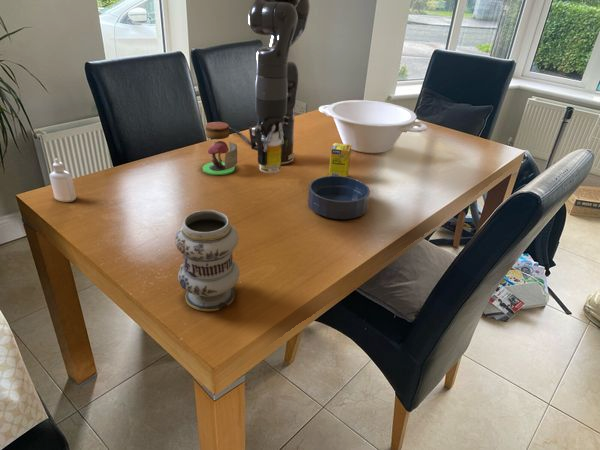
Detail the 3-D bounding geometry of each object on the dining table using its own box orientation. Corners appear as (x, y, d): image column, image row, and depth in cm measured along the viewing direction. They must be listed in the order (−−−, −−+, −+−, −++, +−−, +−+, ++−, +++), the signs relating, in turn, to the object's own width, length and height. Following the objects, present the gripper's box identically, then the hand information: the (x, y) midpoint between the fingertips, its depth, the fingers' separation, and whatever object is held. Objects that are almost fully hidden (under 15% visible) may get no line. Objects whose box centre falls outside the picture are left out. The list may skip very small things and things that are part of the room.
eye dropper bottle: (62, 204, 123) (52, 164, 117) (53, 198, 126) (43, 157, 120) (78, 200, 126) (69, 159, 120) (69, 193, 129) (60, 154, 123)
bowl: (296, 208, 128) (297, 189, 125) (327, 188, 140) (328, 171, 137) (349, 228, 120) (351, 208, 117) (377, 205, 132) (380, 186, 129)
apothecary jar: (205, 324, 85) (199, 244, 76) (168, 295, 92) (158, 219, 83) (252, 296, 93) (251, 220, 84) (214, 271, 100) (211, 199, 91)
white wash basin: (434, 146, 180) (440, 113, 174) (405, 173, 155) (411, 135, 148) (337, 124, 199) (340, 93, 192) (297, 145, 173) (298, 110, 167)
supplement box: (346, 183, 145) (349, 150, 139) (328, 180, 146) (330, 148, 140) (348, 175, 150) (351, 144, 145) (330, 173, 151) (333, 142, 145)
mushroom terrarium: (201, 178, 142) (198, 132, 135) (200, 163, 153) (198, 119, 146) (239, 176, 145) (238, 131, 137) (235, 162, 156) (234, 119, 148)
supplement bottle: (284, 172, 115) (285, 134, 110) (263, 175, 113) (264, 136, 108) (275, 164, 119) (276, 127, 114) (255, 167, 117) (256, 129, 112)
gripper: (277, 86, 113) (275, 149, 122) (239, 97, 103) (240, 165, 112) (301, 92, 110) (298, 156, 118) (265, 103, 99) (263, 173, 108)
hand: (270, 160), depth 115 cm, fingers closed on supplement bottle, 5 cm apart
